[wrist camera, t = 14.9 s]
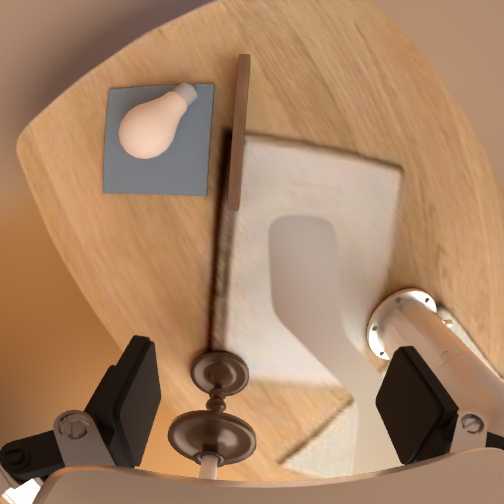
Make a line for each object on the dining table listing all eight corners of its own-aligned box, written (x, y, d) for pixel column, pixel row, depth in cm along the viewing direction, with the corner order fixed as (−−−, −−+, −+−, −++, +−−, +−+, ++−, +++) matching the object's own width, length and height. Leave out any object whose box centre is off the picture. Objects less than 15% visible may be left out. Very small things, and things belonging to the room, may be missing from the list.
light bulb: (178, 58, 27) (103, 129, 26) (219, 97, 29) (147, 169, 28) (172, 77, 33) (110, 138, 32) (207, 110, 35) (147, 172, 34)
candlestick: (223, 405, 47) (208, 598, 13) (172, 371, 44) (114, 576, 11) (269, 372, 44) (286, 595, 11) (216, 332, 42) (178, 586, 9)
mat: (214, 85, 32) (214, 84, 32) (206, 195, 36) (206, 196, 36) (111, 90, 32) (109, 89, 31) (105, 192, 36) (103, 193, 35)
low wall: (250, 65, 32) (250, 54, 28) (239, 205, 37) (238, 210, 33) (240, 64, 32) (239, 54, 28) (229, 204, 37) (227, 210, 33)
